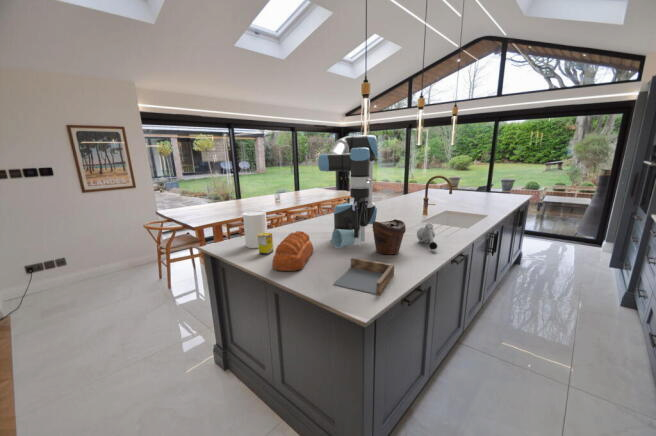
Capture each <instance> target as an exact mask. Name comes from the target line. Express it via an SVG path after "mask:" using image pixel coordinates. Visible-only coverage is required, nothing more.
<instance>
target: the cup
mask: <svg viewBox="0 0 656 436" xmlns="http://www.w3.org/2000/svg"><path fill="white" fill-rule="evenodd" d="M331 241H332V244H333V246H334V248H336V249H340V248H344V247H348V246H353V245H354V241H355V238H354V230H341V229H335V230H334V229H333V231H332V234H331Z"/></svg>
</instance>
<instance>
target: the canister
mask: <svg viewBox="0 0 656 436" xmlns="http://www.w3.org/2000/svg"><path fill="white" fill-rule="evenodd" d="M242 218H243V229H244V238H245V247H246V248H248V249H259V245H258V235H259V234H261V233H268V224H267V222H268V221H267V212H266V211H262V210H251V211H246V212H243V214H242Z"/></svg>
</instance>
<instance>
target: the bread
mask: <svg viewBox="0 0 656 436" xmlns="http://www.w3.org/2000/svg"><path fill="white" fill-rule="evenodd" d="M313 252H314V245H313V244H312V241H311V240H310V236H309V234H307V233H306V232H304V231H301V230H300V231H299V230H298V231H295V232H291V233H289V234H288V235H287V236H286V237H284V239H283V240H281V242H280V243H279V244H278V245H277V246H276V248H275V252H274V253H275V254H274V255H273V258H272V259H273V260H272V268H273V269H274V270H276V271H284V272H295V271H297V270H302V269H303V268H304V267H305V263H308V261H309V259H310V256H311V255H312V254H313Z"/></svg>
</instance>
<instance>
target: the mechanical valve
mask: <svg viewBox="0 0 656 436" xmlns="http://www.w3.org/2000/svg"><path fill="white" fill-rule="evenodd" d="M416 237H417V239H418V242H419V241H420V242H421V241H422V242H423V243H425V244H427V243H429V244H428V245H429V249H431V250H436V249H437V248H438V244H437V242H435V240H434V238H435V237H436V232H435V230H434V225H433V224H432V223H430V222H429V223H428V222H427V223H426V224H425V226H424V227H420V228H419V229H418V230H417V231H416Z"/></svg>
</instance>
